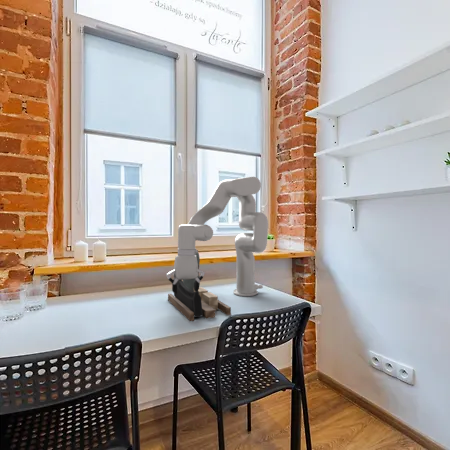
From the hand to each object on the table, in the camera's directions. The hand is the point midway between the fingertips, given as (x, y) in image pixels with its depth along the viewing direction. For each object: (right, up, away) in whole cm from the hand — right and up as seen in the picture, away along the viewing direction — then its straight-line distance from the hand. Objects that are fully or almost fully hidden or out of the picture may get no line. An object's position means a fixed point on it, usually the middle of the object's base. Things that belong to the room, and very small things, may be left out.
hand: (185, 292), depth 130 cm
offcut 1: (+6, -7, +11) cm, 14 cm away
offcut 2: (+10, -7, +1) cm, 13 cm away
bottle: (-1, -7, +31) cm, 32 cm away
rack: (+5, -7, +3) cm, 9 cm away
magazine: (0, -8, 0) cm, 8 cm away
